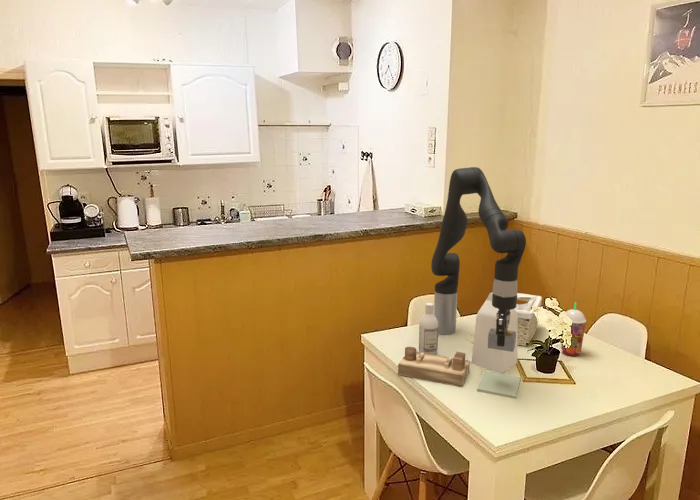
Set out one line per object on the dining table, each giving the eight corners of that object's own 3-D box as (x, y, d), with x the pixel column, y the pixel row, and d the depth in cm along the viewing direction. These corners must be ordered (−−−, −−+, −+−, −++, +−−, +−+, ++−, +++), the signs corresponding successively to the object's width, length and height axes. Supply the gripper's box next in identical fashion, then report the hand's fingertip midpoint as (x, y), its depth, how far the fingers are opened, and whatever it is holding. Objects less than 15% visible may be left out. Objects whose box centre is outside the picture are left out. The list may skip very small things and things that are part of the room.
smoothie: (558, 355, 192) (563, 304, 188) (558, 347, 200) (563, 297, 195) (583, 359, 189) (588, 307, 185) (582, 350, 197) (587, 300, 192)
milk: (471, 363, 186) (474, 294, 181) (486, 353, 195) (490, 287, 189) (502, 373, 178) (506, 302, 173) (517, 363, 187) (522, 294, 181)
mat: (484, 372, 179) (484, 370, 179) (520, 379, 175) (520, 376, 174) (476, 391, 167) (477, 388, 167) (515, 398, 162) (515, 396, 162)
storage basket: (502, 322, 227) (504, 290, 223) (540, 328, 219) (543, 295, 216) (487, 341, 206) (489, 306, 203) (530, 349, 199) (532, 312, 195)
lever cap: (490, 342, 172) (491, 326, 170) (515, 346, 168) (516, 329, 167) (487, 347, 167) (488, 331, 166) (513, 351, 164) (514, 335, 163)
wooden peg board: (408, 360, 189) (409, 340, 187) (469, 371, 180) (470, 350, 179) (398, 374, 178) (398, 353, 177) (462, 386, 170) (463, 364, 168)
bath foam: (441, 355, 193) (443, 304, 189) (427, 360, 189) (429, 308, 185) (428, 349, 199) (429, 299, 194) (414, 353, 195) (416, 303, 190)
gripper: (496, 284, 171) (493, 333, 175) (489, 297, 159) (486, 349, 162) (519, 287, 168) (516, 336, 172) (514, 300, 156) (511, 353, 159)
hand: (501, 342), depth 167 cm, fingers closed on lever cap, 5 cm apart
